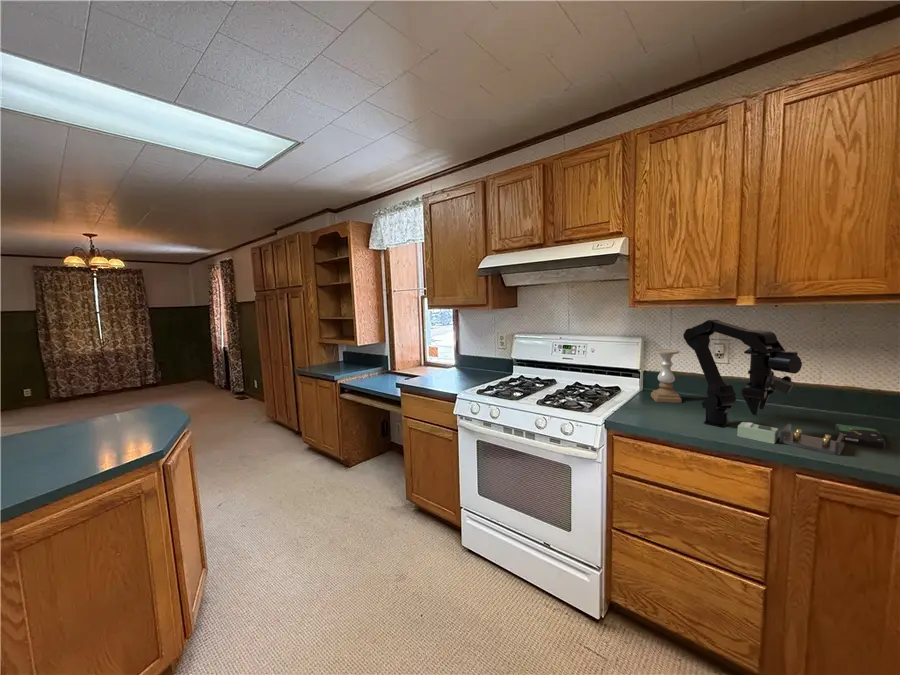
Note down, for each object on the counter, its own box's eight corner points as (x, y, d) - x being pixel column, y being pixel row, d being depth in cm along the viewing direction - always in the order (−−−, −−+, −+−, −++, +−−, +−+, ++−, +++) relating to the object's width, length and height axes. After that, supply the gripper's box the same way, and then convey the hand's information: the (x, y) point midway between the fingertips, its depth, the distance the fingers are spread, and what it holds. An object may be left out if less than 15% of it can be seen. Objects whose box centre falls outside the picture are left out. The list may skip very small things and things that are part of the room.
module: (737, 436, 131) (737, 424, 131) (741, 432, 135) (742, 420, 135) (774, 444, 124) (774, 431, 123) (777, 439, 127) (778, 426, 127)
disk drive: (886, 450, 116) (877, 436, 127) (886, 442, 116) (877, 428, 127) (838, 443, 123) (833, 429, 134) (839, 435, 123) (834, 422, 134)
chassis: (779, 442, 124) (780, 431, 124) (786, 434, 131) (787, 423, 131) (839, 455, 113) (840, 442, 113) (844, 445, 120) (845, 433, 120)
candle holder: (656, 402, 175) (657, 352, 172) (650, 396, 185) (651, 349, 183) (682, 403, 172) (683, 352, 169) (674, 396, 182) (676, 349, 180)
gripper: (785, 375, 115) (782, 424, 116) (798, 367, 126) (795, 411, 128) (741, 370, 123) (739, 416, 125) (756, 363, 135) (754, 404, 137)
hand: (758, 412), depth 128 cm, fingers open, 9 cm apart
